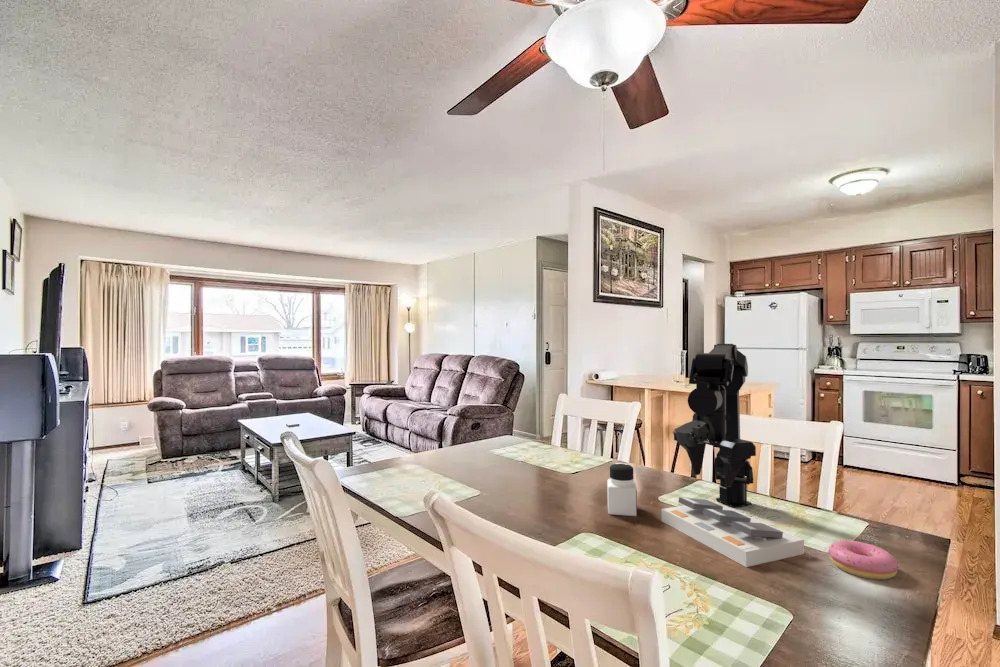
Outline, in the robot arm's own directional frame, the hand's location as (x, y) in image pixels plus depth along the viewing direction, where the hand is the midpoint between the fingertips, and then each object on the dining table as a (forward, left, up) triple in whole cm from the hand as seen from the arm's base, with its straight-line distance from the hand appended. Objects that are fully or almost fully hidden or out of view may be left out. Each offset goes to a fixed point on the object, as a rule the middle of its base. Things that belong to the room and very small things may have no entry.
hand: (712, 480), depth 104 cm
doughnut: (-19, +19, -14) cm, 30 cm away
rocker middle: (-6, -1, -9) cm, 11 cm away
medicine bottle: (+7, -23, -14) cm, 28 cm away
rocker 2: (-6, +7, -9) cm, 13 cm away
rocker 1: (-6, -9, -9) cm, 14 cm away
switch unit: (-6, -1, -14) cm, 15 cm away
